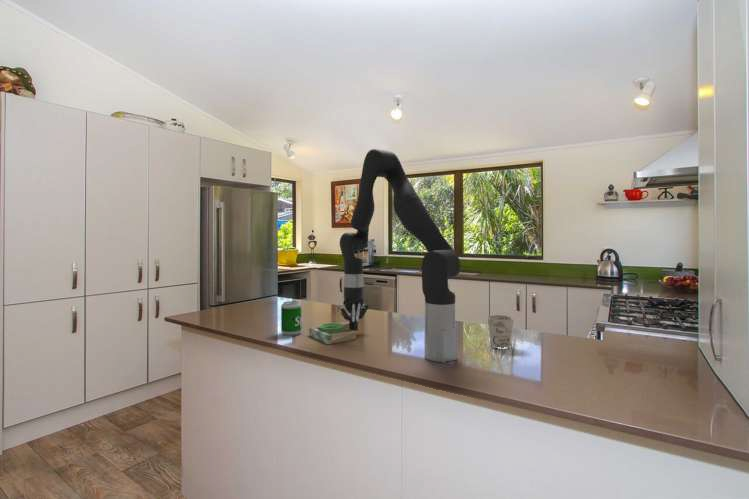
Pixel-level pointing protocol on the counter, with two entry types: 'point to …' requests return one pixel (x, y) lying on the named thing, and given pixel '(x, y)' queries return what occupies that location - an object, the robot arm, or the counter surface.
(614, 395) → the counter surface
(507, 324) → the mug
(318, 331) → the rail pocket
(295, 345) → the counter surface
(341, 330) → the ramekin
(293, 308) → the soda can
